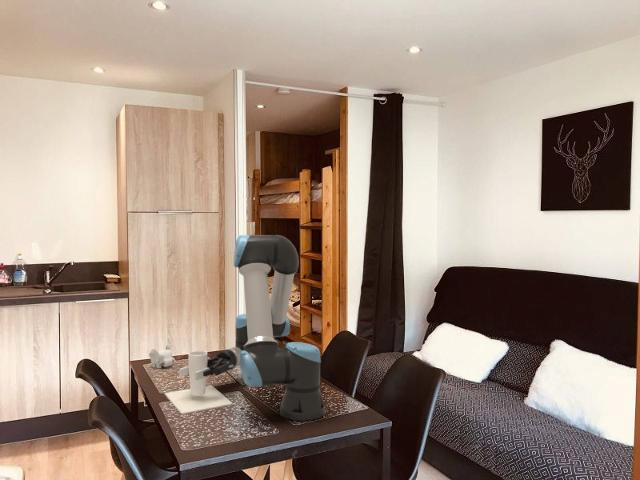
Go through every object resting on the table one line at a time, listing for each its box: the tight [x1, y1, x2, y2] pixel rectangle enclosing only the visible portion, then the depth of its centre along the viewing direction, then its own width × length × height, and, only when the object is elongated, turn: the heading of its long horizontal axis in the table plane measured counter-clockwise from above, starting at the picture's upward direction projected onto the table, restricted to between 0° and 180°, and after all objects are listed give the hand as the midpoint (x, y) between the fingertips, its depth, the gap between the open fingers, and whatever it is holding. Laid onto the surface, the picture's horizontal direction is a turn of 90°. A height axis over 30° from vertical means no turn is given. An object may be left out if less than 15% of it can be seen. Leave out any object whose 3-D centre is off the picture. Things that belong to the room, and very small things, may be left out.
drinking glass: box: [187, 350, 209, 396], centre depth 179 cm, size 7×7×15 cm
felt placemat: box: [164, 385, 233, 416], centre depth 180 cm, size 22×18×1 cm
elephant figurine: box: [148, 344, 177, 369], centre depth 218 cm, size 10×12×9 cm
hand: (188, 374), depth 175 cm, fingers closed on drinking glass, 7 cm apart
